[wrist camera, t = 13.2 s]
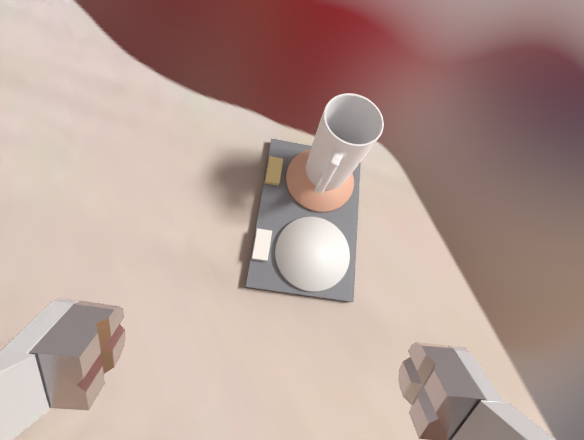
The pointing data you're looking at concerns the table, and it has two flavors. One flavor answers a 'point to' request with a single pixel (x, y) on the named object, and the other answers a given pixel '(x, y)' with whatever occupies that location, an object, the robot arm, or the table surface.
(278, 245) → the grey food tray
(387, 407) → the table surface
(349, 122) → the mug
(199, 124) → the table surface
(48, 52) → the table surface
